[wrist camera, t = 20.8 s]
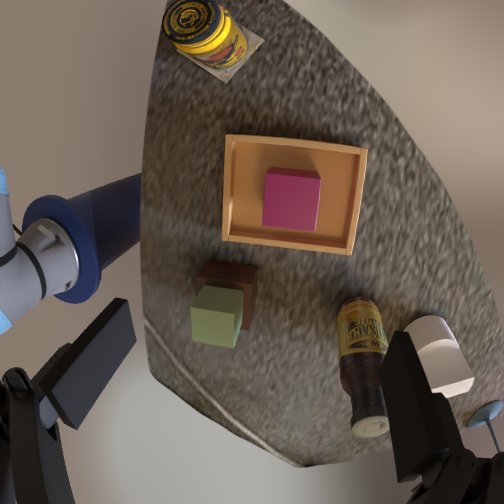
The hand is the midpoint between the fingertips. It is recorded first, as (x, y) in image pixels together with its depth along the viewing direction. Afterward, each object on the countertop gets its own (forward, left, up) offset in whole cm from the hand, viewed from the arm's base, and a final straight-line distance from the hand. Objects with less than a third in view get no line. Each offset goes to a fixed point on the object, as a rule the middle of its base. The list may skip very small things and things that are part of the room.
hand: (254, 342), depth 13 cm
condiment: (-9, +20, -25) cm, 33 cm away
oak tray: (+1, +2, -25) cm, 25 cm away
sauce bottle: (+12, -14, -25) cm, 31 cm away
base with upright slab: (+25, -18, -25) cm, 39 cm away
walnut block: (-6, -12, -25) cm, 28 cm away
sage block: (-6, -12, -20) cm, 24 cm away
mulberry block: (+1, +2, -24) cm, 24 cm away
